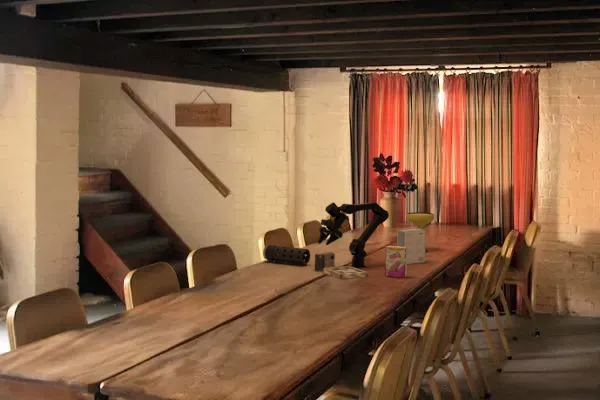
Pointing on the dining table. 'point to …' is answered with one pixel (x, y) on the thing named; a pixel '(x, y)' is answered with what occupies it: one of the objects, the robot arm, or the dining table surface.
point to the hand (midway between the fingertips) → (322, 244)
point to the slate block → (349, 271)
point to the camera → (324, 260)
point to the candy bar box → (396, 261)
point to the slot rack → (337, 273)
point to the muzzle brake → (286, 255)
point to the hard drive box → (412, 244)
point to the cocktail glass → (420, 219)
